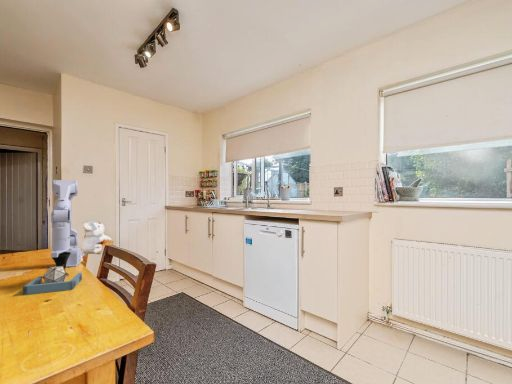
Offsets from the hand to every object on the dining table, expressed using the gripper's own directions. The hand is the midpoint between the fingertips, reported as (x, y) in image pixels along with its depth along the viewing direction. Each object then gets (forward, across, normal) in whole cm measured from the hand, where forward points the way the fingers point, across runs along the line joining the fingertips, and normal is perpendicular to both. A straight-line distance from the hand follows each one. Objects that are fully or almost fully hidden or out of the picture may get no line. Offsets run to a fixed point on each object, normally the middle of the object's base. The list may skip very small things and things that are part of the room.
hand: (61, 270), depth 104 cm
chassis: (+4, -6, 0) cm, 7 cm away
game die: (+5, -6, 0) cm, 7 cm away
